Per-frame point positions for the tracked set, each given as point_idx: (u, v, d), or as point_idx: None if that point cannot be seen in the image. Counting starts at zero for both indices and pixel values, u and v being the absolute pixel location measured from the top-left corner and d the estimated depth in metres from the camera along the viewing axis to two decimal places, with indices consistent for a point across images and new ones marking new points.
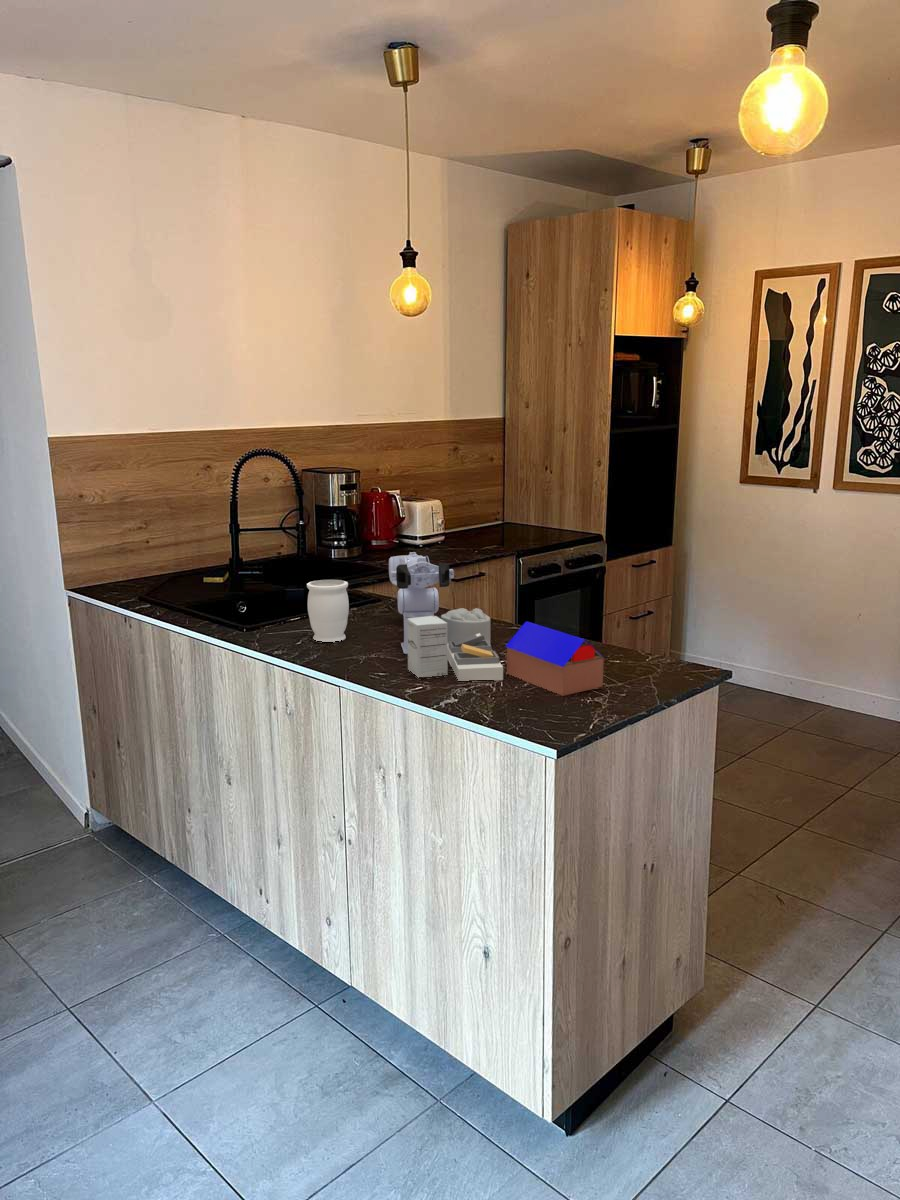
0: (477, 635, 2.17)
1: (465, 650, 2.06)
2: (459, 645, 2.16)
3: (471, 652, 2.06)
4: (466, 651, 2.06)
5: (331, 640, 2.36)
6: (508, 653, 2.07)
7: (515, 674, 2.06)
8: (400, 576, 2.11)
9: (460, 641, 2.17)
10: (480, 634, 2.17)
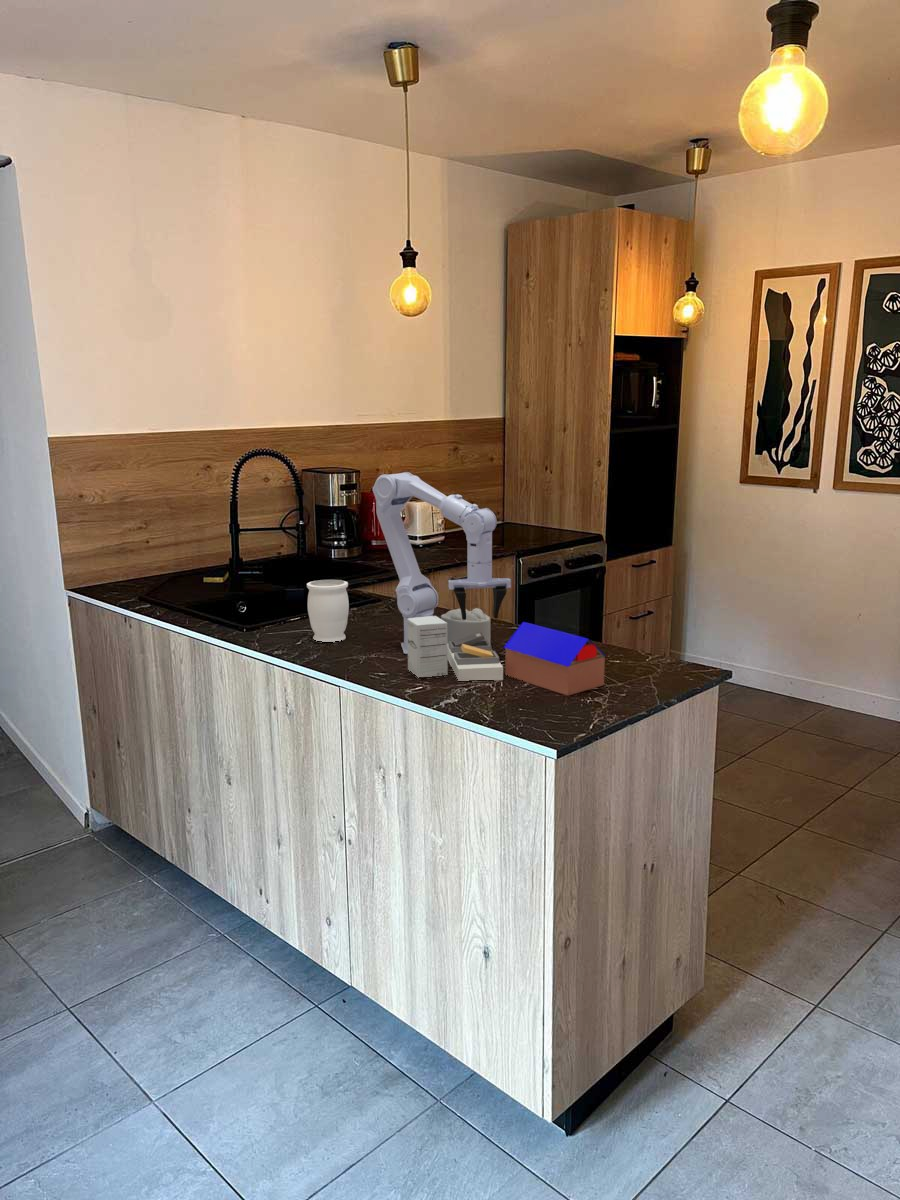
0: (477, 635, 2.17)
1: (465, 650, 2.06)
2: (459, 645, 2.16)
3: (471, 652, 2.06)
4: (466, 651, 2.06)
5: (331, 640, 2.36)
6: (507, 654, 2.06)
7: (515, 675, 2.05)
8: None
9: (460, 641, 2.17)
10: (480, 634, 2.17)
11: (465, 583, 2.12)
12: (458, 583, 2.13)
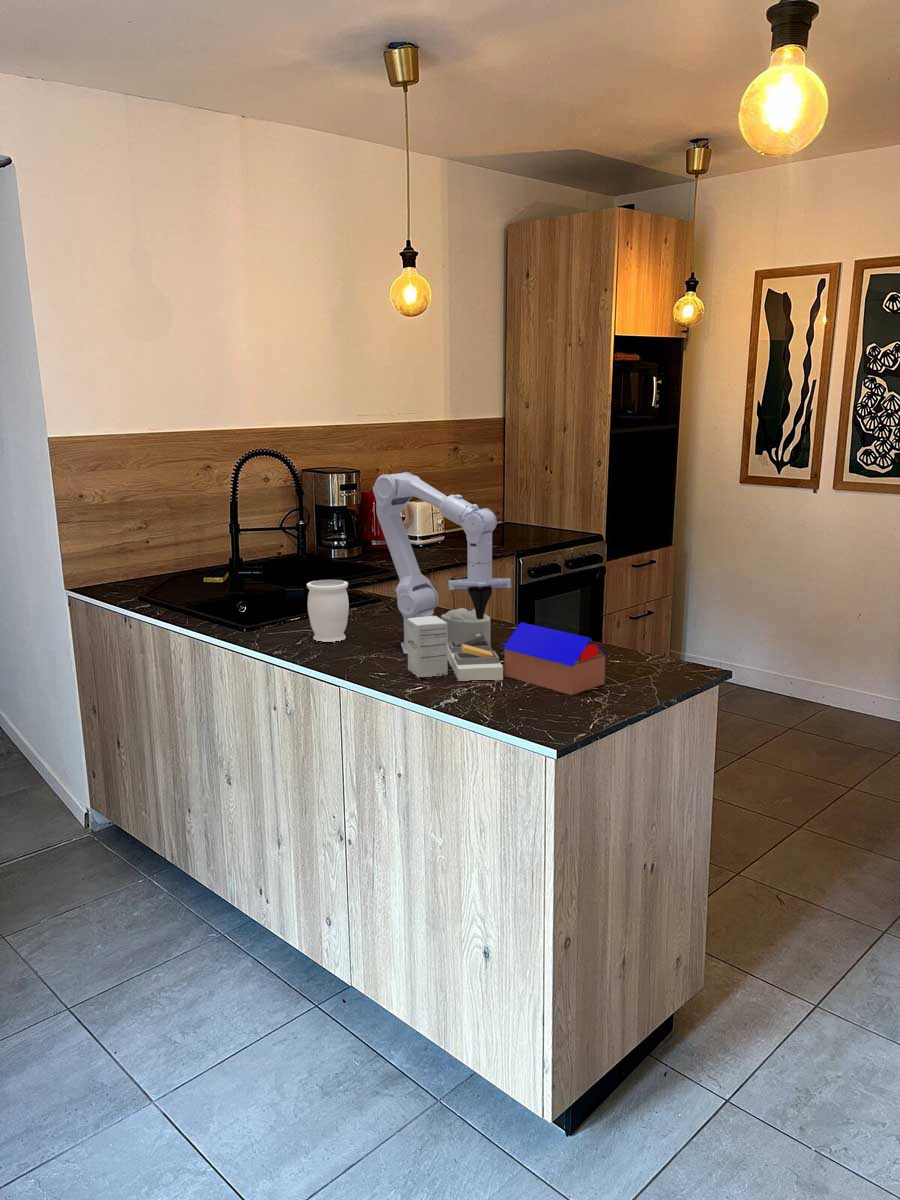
0: (477, 635, 2.17)
1: (465, 650, 2.06)
2: (459, 645, 2.16)
3: (471, 652, 2.06)
4: (466, 651, 2.06)
5: (331, 640, 2.36)
6: (506, 655, 2.05)
7: (514, 676, 2.04)
8: None
9: (460, 641, 2.17)
10: (480, 634, 2.17)
11: (465, 583, 2.12)
12: (458, 583, 2.13)
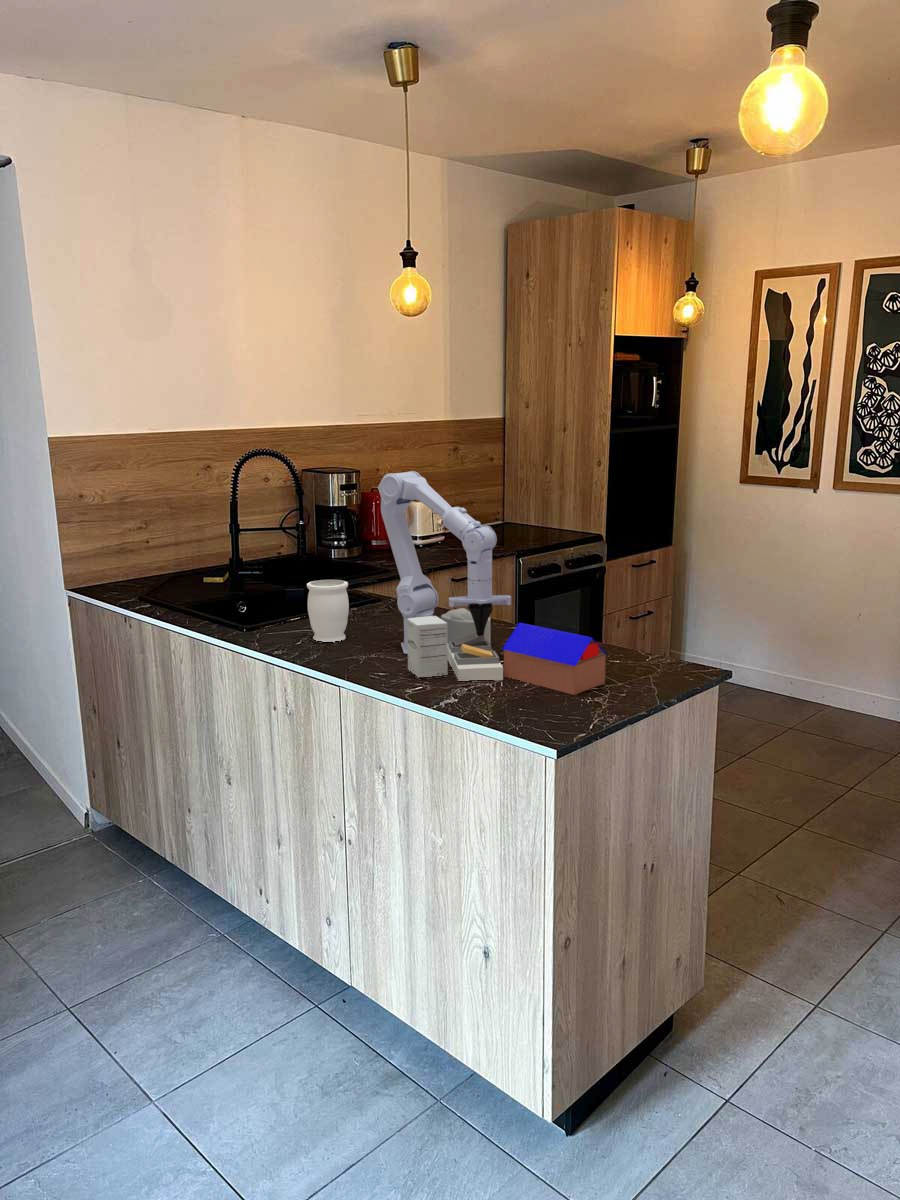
0: None
1: (465, 650, 2.06)
2: (459, 645, 2.16)
3: (471, 652, 2.06)
4: (466, 651, 2.06)
5: (331, 640, 2.36)
6: (505, 656, 2.05)
7: (514, 676, 2.04)
8: None
9: (460, 641, 2.17)
10: None
11: (465, 600, 2.13)
12: (458, 600, 2.14)
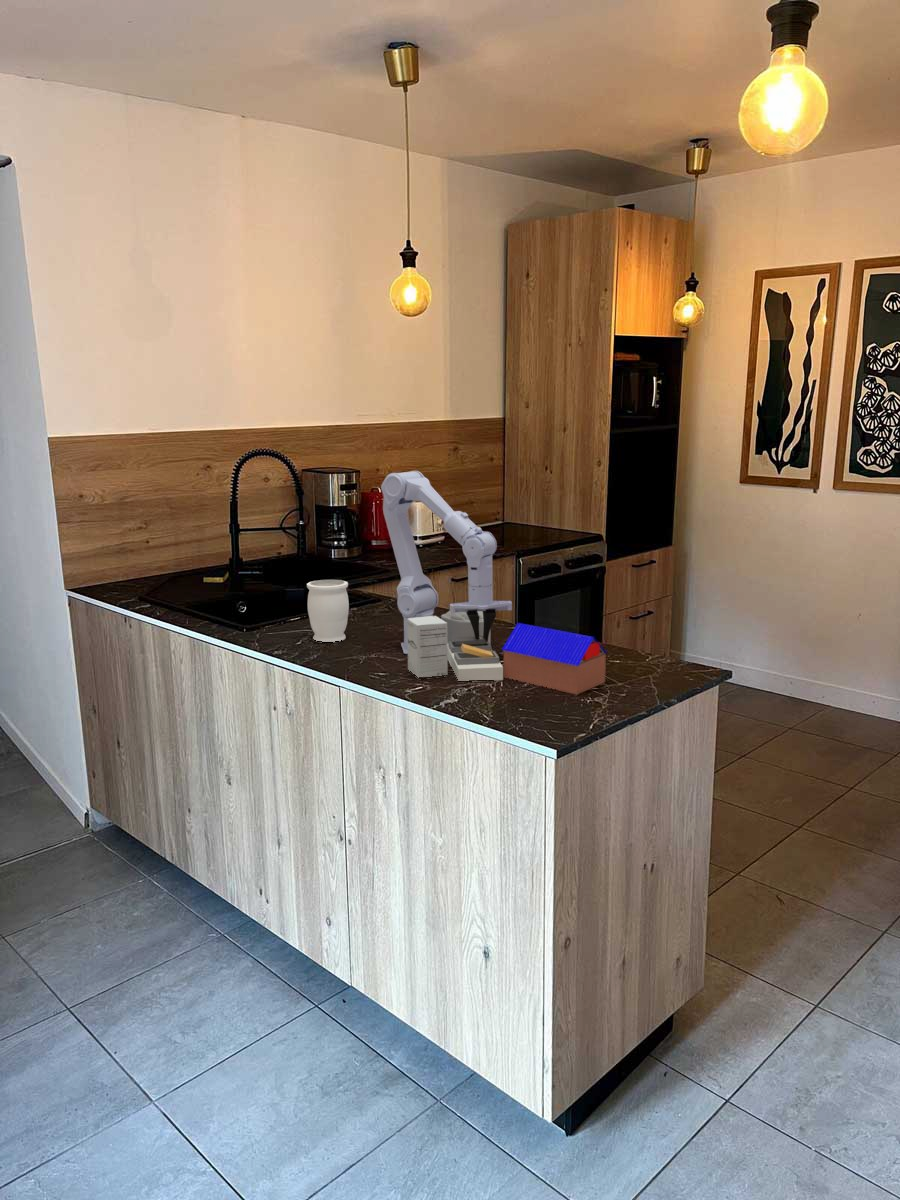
0: None
1: (465, 650, 2.06)
2: (459, 642, 2.15)
3: (471, 652, 2.06)
4: (466, 651, 2.06)
5: (331, 640, 2.36)
6: (505, 656, 2.04)
7: (515, 677, 2.04)
8: None
9: (461, 638, 2.17)
10: (482, 637, 2.18)
11: (466, 607, 2.14)
12: (459, 607, 2.14)
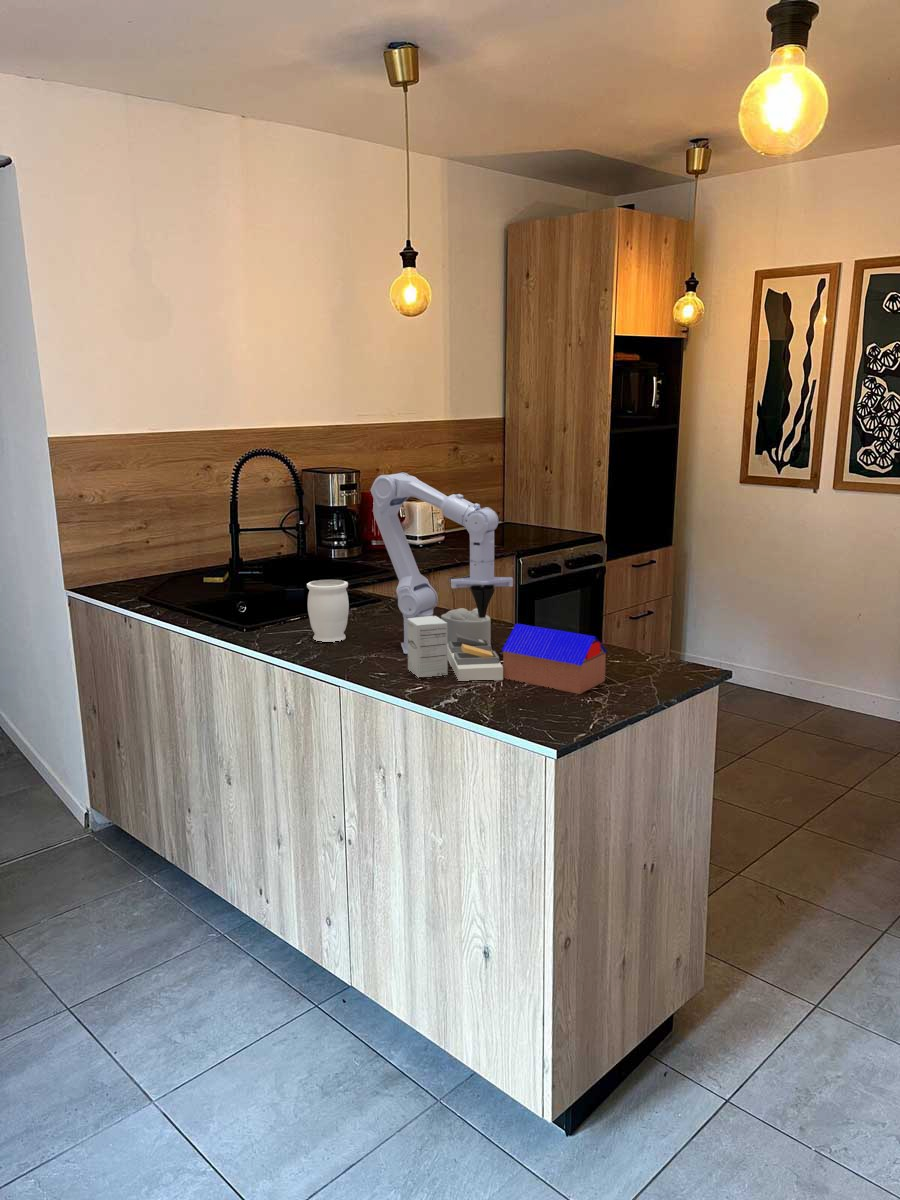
0: (480, 640, 2.18)
1: (465, 650, 2.06)
2: (461, 639, 2.15)
3: (471, 652, 2.06)
4: (466, 651, 2.06)
5: (331, 640, 2.36)
6: (505, 657, 2.04)
7: (515, 678, 2.03)
8: None
9: (462, 636, 2.17)
10: (483, 641, 2.18)
11: (467, 582, 2.14)
12: (460, 582, 2.14)
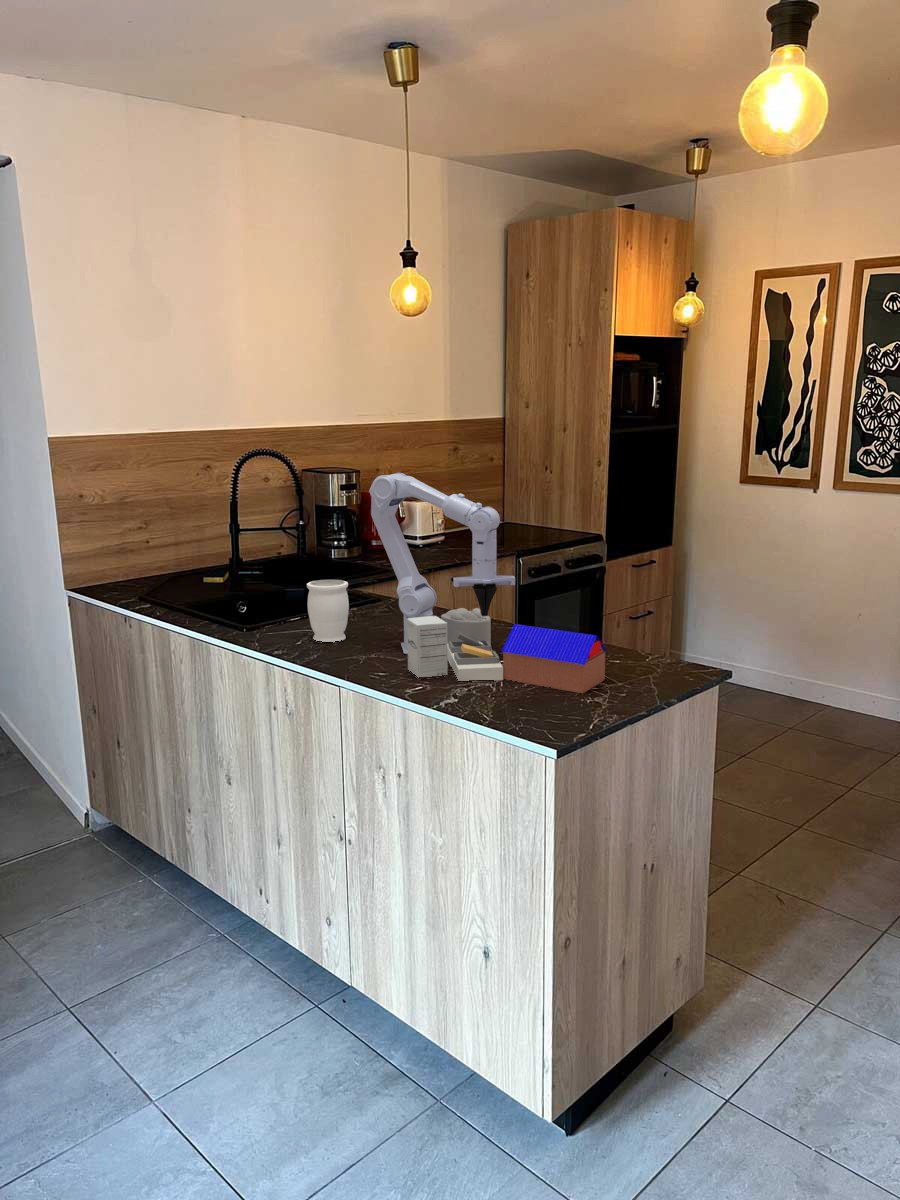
0: (480, 642, 2.18)
1: (465, 650, 2.06)
2: (462, 637, 2.15)
3: (471, 652, 2.06)
4: (466, 651, 2.06)
5: (331, 640, 2.36)
6: (505, 658, 2.03)
7: (515, 678, 2.03)
8: None
9: (464, 635, 2.17)
10: (482, 644, 2.18)
11: (470, 580, 2.16)
12: (463, 580, 2.16)
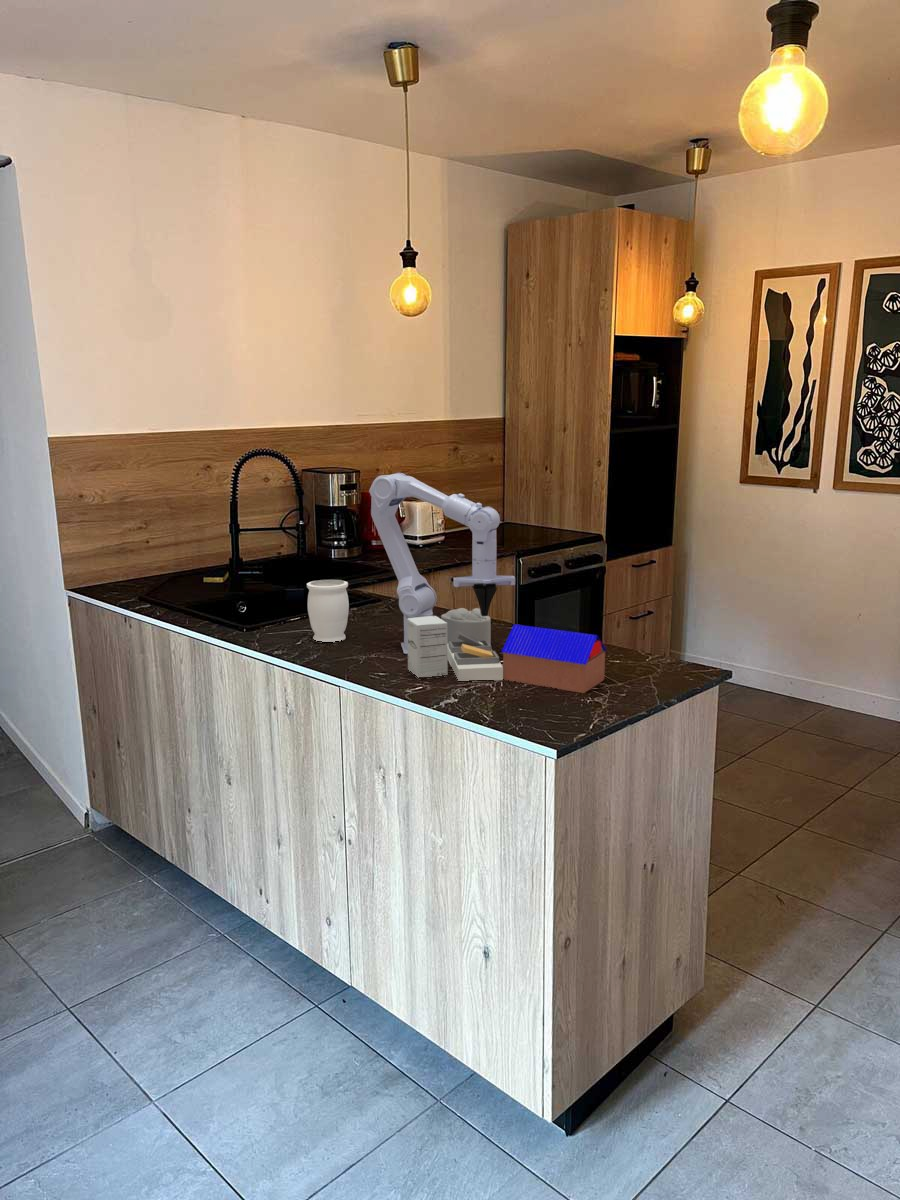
0: (480, 642, 2.18)
1: (465, 650, 2.06)
2: (462, 637, 2.15)
3: (471, 652, 2.06)
4: (466, 651, 2.06)
5: (331, 640, 2.36)
6: (505, 658, 2.03)
7: (516, 679, 2.02)
8: None
9: (464, 635, 2.17)
10: (482, 644, 2.18)
11: (470, 580, 2.16)
12: (463, 580, 2.16)
